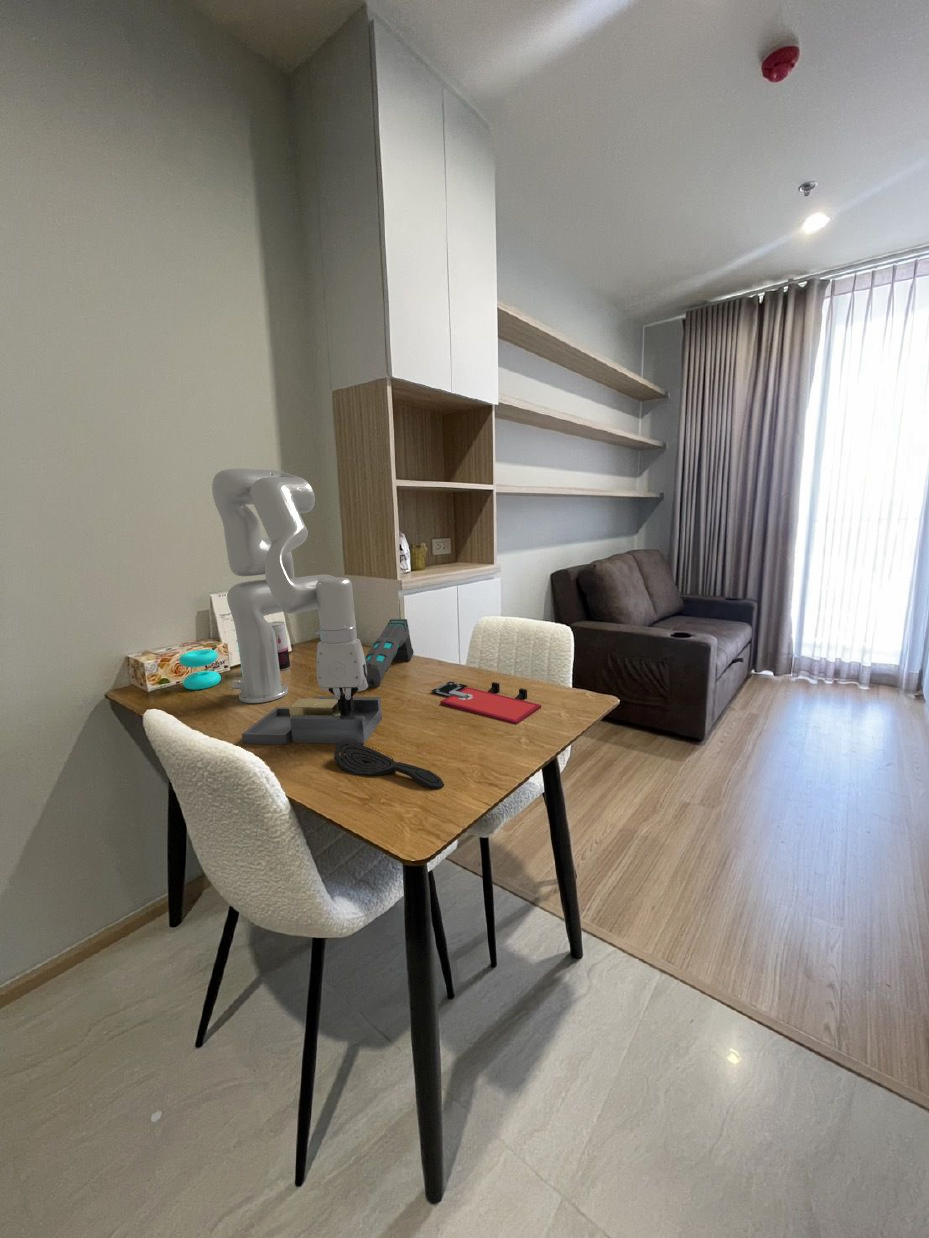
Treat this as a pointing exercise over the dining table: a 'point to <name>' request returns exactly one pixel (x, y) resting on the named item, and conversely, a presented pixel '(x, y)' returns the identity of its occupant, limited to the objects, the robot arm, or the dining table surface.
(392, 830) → the dining table surface
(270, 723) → the chip tray
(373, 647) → the gun
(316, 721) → the slot block
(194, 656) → the donuts
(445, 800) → the dining table surface
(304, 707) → the brass chip
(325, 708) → the brass chip
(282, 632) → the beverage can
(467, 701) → the red board with handle
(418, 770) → the hairbrush
